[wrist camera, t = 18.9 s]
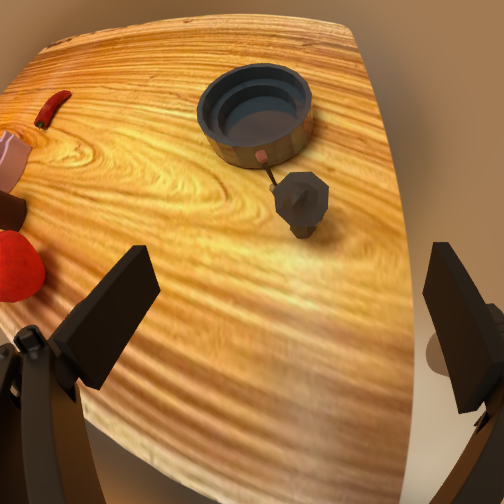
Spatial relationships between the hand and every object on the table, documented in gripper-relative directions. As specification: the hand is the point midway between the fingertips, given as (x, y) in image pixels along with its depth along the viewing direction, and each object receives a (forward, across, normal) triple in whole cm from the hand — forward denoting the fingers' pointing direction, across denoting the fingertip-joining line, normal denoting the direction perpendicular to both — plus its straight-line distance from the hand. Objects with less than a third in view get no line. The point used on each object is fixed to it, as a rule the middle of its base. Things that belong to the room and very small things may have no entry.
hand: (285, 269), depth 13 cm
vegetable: (+46, -58, +13) cm, 75 cm away
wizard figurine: (+24, -2, -9) cm, 26 cm away
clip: (+34, -70, +2) cm, 78 cm away
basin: (+35, -6, +2) cm, 36 cm away
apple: (+18, -46, -15) cm, 52 cm away
